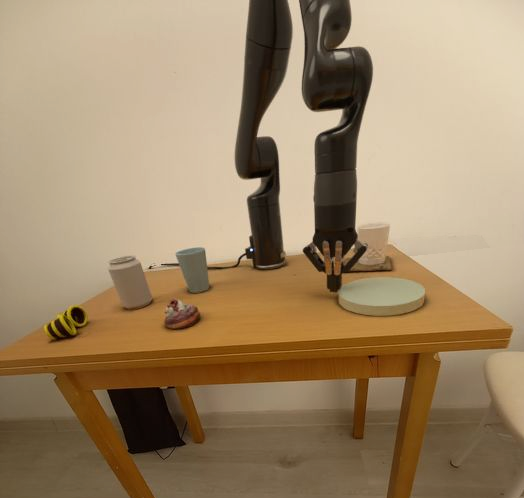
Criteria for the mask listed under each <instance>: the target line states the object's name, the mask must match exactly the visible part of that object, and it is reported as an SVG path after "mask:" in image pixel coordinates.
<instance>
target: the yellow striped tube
mask: <svg viewBox="0 0 524 498" xmlns="http://www.w3.org/2000/svg"><path fill="white" fill-rule="evenodd" d="M88 321H89V315H88V313H87V310H86V309H85V308H84V307H82V306H80V305H78V304H77V305H76V304H73V305H70V306H69V307H68V308H67V309H65V310H64V311H63V312H61V313H58V314H57V316H56V318H55V319H53V320H52V321H51V322H49V323H48V324H45V325H44V326H43V330H44V333H45V334H46V336H47V337H48V338H49V339H51V340H53V341H55V340H58V339H60V338H67V336H76V335H77V329H76V327H78V328H82V327H84V326H85V325H87V323H88Z"/></svg>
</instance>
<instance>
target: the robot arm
mask: <svg viewBox="0 0 524 498" xmlns="http://www.w3.org/2000/svg"><path fill="white" fill-rule="evenodd" d="M298 4H299V10H300V17H301V21H302V22H301V23H302V29H303V38H304V39H303V41H304V42H303V43H304V44H303V45H304V46H303V47H304V48H303V49H304V53H303V67H302V75H301V87H300V89H301V97H302V100H303V103H304V104H305V106H306V108H307V109H308V110H310V111H311V112H313V113H324V112H331V111H342V112H341V116H340V119H339V121H338V123H337V124H336V126H333V127H331V128H328V129H325V130H324V131H321V132H319V133H318V134H317V135H316V136H315V138H314V149H313V150H314V153H313V154H314V183H313V199H312V200H313V210H314V211H313V214H314V218H313V219H314V234H313V235H312V241H311V242H310V243H309V244H307V245H305V246H303V248H302V253H303V254H304V255H305V257H306V258H307V259H308V260H309V262H310V263H311V264H312V265H313V267H314V268H315V269H316V270H317V272H318V273H324V274H325V275H326V289H327V290H329V293H338V292H339V289H340V288H341V287H342V286H343V274H344V273H348V272H350V271H349V270H350V269H351V268H352V267H353V266H354V265H355V263H356V262H357V261H358V260H359V259H360V258H361V256H362V255H363V254H364V253H365V252H366V250H367V248H368V244H367V243H364V244H363V243H362V242H361V241H360V240H358V235H357V228H356V223H357V222H356V221H357V201H358V200H357V197H358V177H357V176H358V175H357V164H358V163H357V162H358V144H359V143H358V142H359V136H360V132H361V127H362V123H363V119H364V114H365V110H366V106H367V103H368V99H369V96H370V92H371V88H372V83H373V78H374V64H373V59H372V56H371V54H370V52H369V51H368V49H367V48H366V47H364V46H360V45H357V46H349V47H340V46H341V45H343V43H344V42H345V41H346V39H347V37H348V36H349V34H350V31H351V27H352V22H353V21H352V20H353V19H352V18H353V17H352V7H351V1H350V0H298ZM247 11H248V12H247V23H246V32H245V44H244V58H243V59H244V60H243V76H242V77H243V78H242V90H241V102H240V111H239V117H238V124H237V129H236V130H237V131H236V137H235V144H234V154H233V155H234V157H233V158H234V168H235V173H236V174H237V176H238V177H239V178H240V180H244V181H250V180H258V179H260V183H259V186H258V187H257V189H256V190H254V191H253V192H252V193H250V194H249V195H247V197H246V207H247V213H248V220H249V226H250V227H249V228H250V234H251V235H249V237H248V240H249V246H248V247H246V248H244V252H243V254H241V255H240V256H239V257H238V259H237V262H236V263H235V264H234V265H231V266H207V270H226V269H233V268H236V267H238V266H239V265H240V263H241V260H242V259H243V258H244V257H245V258H246V260H251V261H252V267H253V269H257V270H264V271H265V270H274V269H278V268H281V267H283V266H285V265H286V250H285V248H284V247H285V246H284V237H283V236H284V235H283V225H282V224H283V223H282V213H281V204H280V196H281V195H280V194H281V177H280V156H279V150H278V145H277V143H276V141H275V139H274V138H273V137H272V136H268V135H265V136H263V135H262V136H258V134H259V130H260V126H261V124H262V121H263V118H264V117H265V114H266V113H267V111H268V109H269V108H270V106H271V104H272V103H273V101H274V100H275V98H276V97H277V95H278V93H279V91H280V89H281V88H282V86H283V83H284V81H285V79H286V76H287V72H288V67H289V62H290V56H291V50H292V44H293V37H294V26H293V18H292V13H291V8H290V3H289V0H249V1H248V9H247ZM352 247H354V248H353V253H354V254H353V255H352V256H351V257H352V258H351V257H350V258H351V259H350V260H349V261H348V263H347V264H345V265H344V261H345V256H346V255H347V254H348V253H349V251H350V250H352ZM317 250H318V251H319V253H320V254H321V255H320V254H319V253H317ZM321 256H322V257H323V259H322V258H321ZM155 266H156V265H154V266H151V265H149V267H148V270H151V269H152V268H153V267H155ZM160 266H180V265H179V262H172V263H171V262H170V263H165V264H161V265H160Z"/></svg>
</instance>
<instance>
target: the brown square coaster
mask: <svg viewBox="0 0 524 498" xmlns="http://www.w3.org/2000/svg"><path fill="white" fill-rule="evenodd" d="M352 257H353V256H351V257H346V258H345V257H344V261H343V265H345V264H347V263H348V261H349V260H350V259H351V258H352ZM391 263H392V262H391V260H390V257H389V255H385V261H384V262H383V263H380V264H373V265H364V264H360V263H359V262H358V261H357V262H356V263H355V265H354V266H353V267H352V268H351V269H350V270H349V272H372V271H392V270H393V269H392V264H391Z"/></svg>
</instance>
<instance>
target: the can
mask: <svg viewBox="0 0 524 498" xmlns="http://www.w3.org/2000/svg"><path fill="white" fill-rule="evenodd" d="M136 257H137V256H136V255H132V254H131V255H124V256H119V257H115V258H112V259H110V260H109V261H108V264H109V265H108V268H107V270H108V273H109V275H110V278H111V280H112V282H113V286H114V288H115V290H116V292H117V296H118V298H119V301H120V304H121V306H122V307H123V308H125V309H127V310H138V309H141V308H144V307H147V306H148V305H150V304H151V301H152V300H153V295H152V292H151V290H150V287H149V283H148V281H147V278H146V275H145V272H144V269H143V266H142V263H141V261H140V260H139V259H137V258H136Z"/></svg>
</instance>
